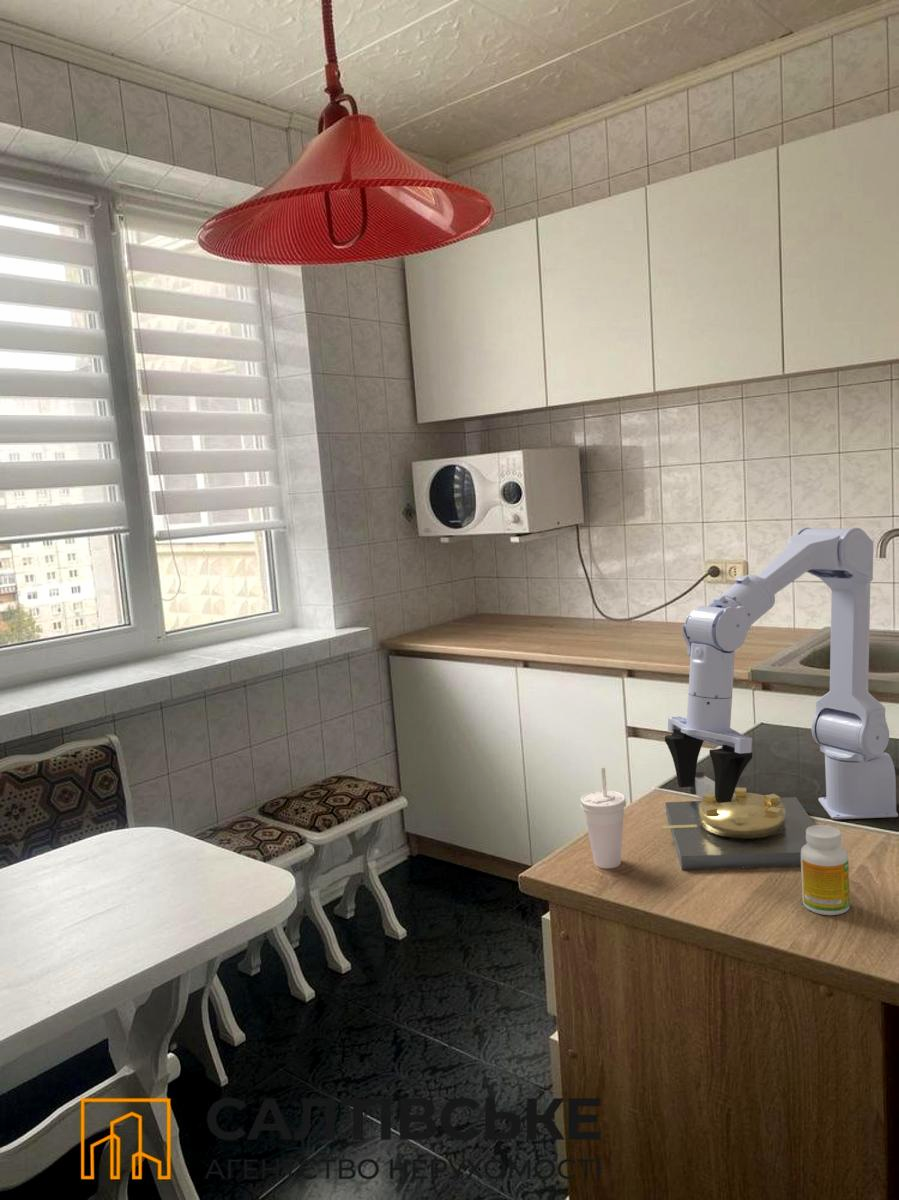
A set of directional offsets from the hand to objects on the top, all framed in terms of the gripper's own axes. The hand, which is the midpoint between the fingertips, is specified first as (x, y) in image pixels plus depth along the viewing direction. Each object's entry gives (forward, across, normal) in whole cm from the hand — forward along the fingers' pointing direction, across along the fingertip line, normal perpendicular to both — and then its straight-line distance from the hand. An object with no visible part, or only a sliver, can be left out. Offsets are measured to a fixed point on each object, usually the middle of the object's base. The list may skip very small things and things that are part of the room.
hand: (704, 793), depth 122 cm
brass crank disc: (+6, -9, +12) cm, 17 cm away
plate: (+9, -5, +12) cm, 16 cm away
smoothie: (+12, -9, -8) cm, 18 cm away
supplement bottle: (+10, +16, +6) cm, 20 cm away
